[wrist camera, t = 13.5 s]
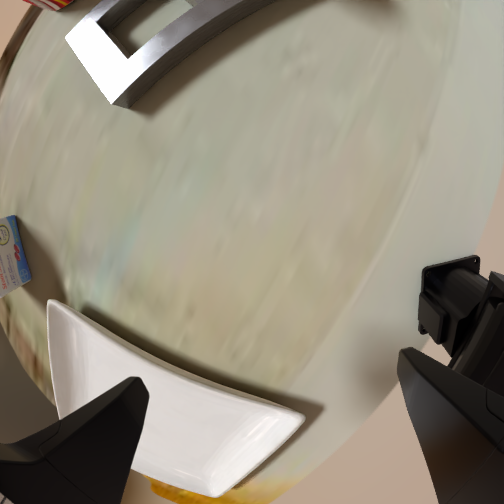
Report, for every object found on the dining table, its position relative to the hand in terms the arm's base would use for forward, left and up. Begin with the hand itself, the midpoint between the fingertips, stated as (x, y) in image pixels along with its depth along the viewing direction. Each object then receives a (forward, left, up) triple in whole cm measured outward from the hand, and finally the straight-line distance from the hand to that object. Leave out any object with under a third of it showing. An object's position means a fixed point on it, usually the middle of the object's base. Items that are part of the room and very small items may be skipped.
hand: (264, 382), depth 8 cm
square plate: (+18, +18, -14) cm, 29 cm away
